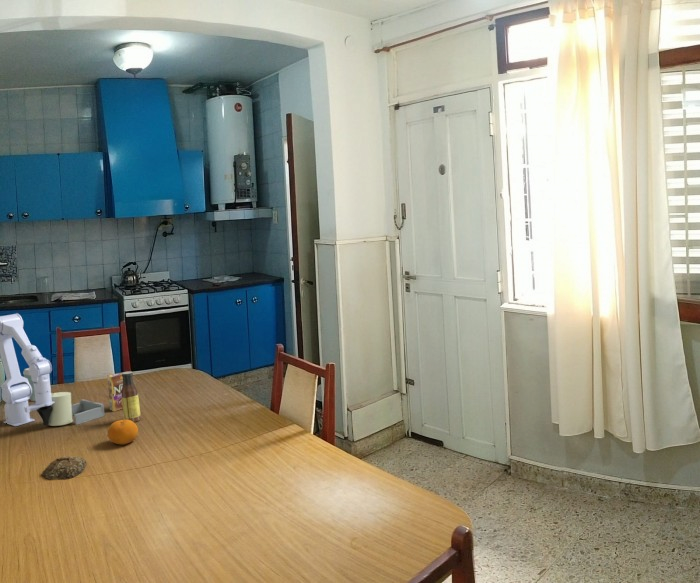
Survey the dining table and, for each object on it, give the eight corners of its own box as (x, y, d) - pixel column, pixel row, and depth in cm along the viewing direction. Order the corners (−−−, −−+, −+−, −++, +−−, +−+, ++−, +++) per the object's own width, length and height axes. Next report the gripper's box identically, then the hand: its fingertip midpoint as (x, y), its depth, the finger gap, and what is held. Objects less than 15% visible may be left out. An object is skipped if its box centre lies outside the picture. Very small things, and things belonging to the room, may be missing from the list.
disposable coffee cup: (26, 398, 288) (23, 366, 286) (52, 394, 292) (49, 363, 290) (25, 404, 278) (21, 371, 276) (51, 400, 283) (48, 368, 281)
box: (56, 419, 255) (54, 407, 255) (84, 410, 266) (83, 399, 265) (76, 424, 247) (75, 412, 247) (104, 415, 258) (103, 404, 257)
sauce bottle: (143, 417, 253) (139, 370, 250) (136, 423, 247) (132, 374, 244) (128, 418, 254) (124, 370, 251) (121, 423, 248) (116, 374, 245)
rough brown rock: (91, 463, 208) (90, 449, 208) (76, 479, 196) (75, 464, 195) (52, 465, 208) (51, 451, 207) (35, 481, 196) (33, 466, 195)
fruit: (107, 449, 220) (105, 427, 219) (110, 439, 230) (108, 418, 229) (138, 445, 223) (136, 424, 222) (139, 435, 233) (138, 415, 232)
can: (44, 423, 250) (42, 393, 249) (67, 418, 256) (66, 389, 255) (52, 427, 243) (50, 396, 242) (76, 422, 249) (74, 392, 249)
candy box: (113, 412, 262) (110, 376, 260) (109, 409, 265) (106, 375, 263) (133, 406, 268) (130, 372, 266) (129, 404, 271) (126, 370, 270)
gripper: (29, 397, 234) (33, 432, 236) (66, 388, 246) (69, 421, 248) (20, 395, 238) (23, 429, 240) (56, 385, 250) (59, 418, 252)
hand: (46, 425), depth 244 cm, fingers closed
